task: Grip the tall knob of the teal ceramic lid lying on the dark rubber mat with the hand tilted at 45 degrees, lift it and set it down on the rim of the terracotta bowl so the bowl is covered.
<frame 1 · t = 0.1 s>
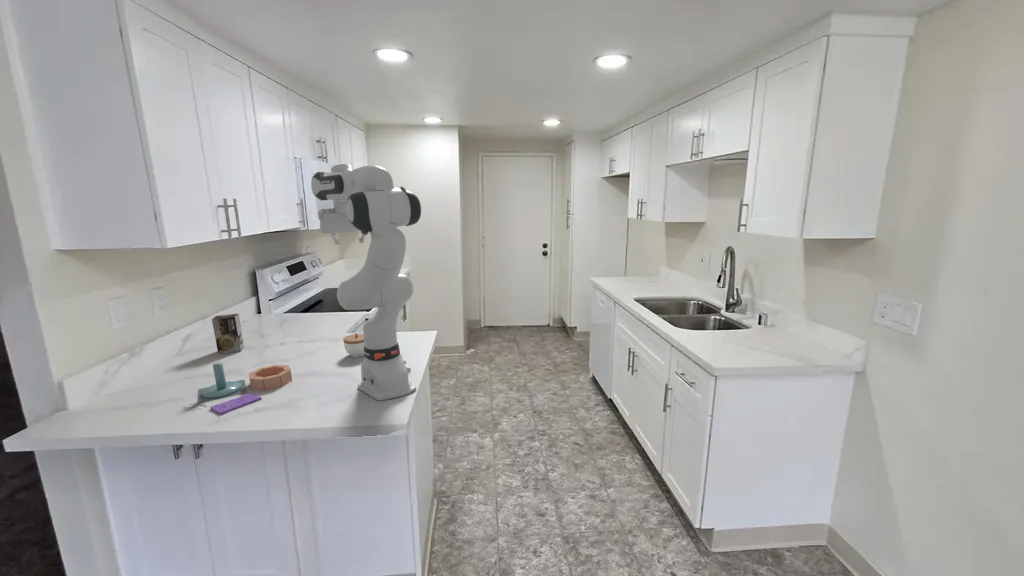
hand: (349, 243, 172), 48 cm above the worktop, tool pointing down, fingers open, 8 cm apart
sponges: (237, 407, 142), on the worktop
soap dispenser: (388, 334, 213), on the worktop
bowl: (271, 383, 158), on the worktop
mat: (222, 392, 152), on the worktop
lid: (222, 390, 152), resting on mat
lidded jar: (358, 355, 186), on the worktop
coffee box: (231, 351, 195), on the worktop
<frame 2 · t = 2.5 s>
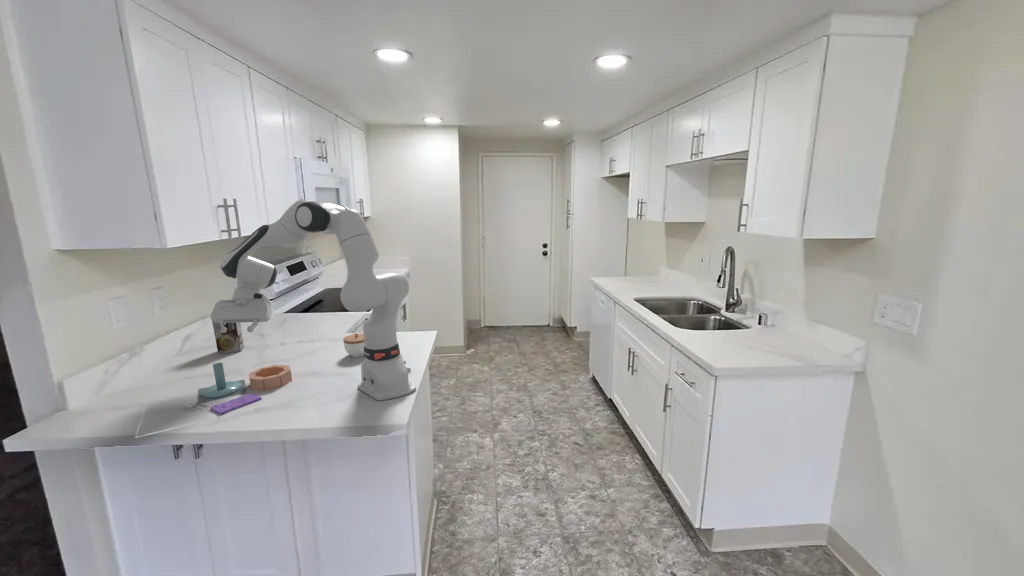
hand: (236, 331, 162), 18 cm above the worktop, tool tilted 45°, fingers open, 8 cm apart
nothing on the worktop moved.
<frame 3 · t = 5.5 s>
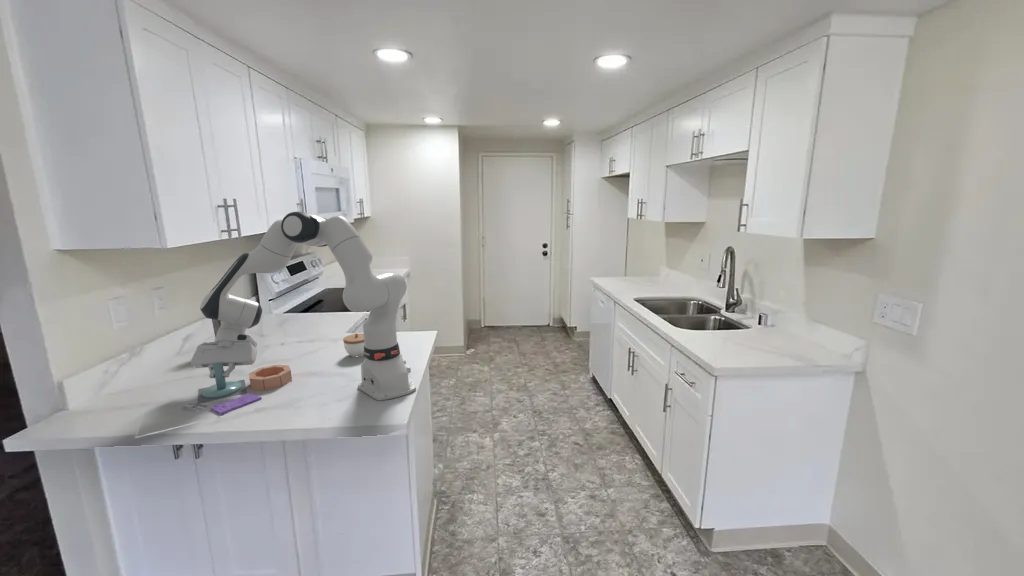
hand: (218, 377, 150), 6 cm above the worktop, tool tilted 45°, fingers closed on lid, 3 cm apart
lid: (222, 390, 152), resting on mat, touching gripper
everything else where it was.
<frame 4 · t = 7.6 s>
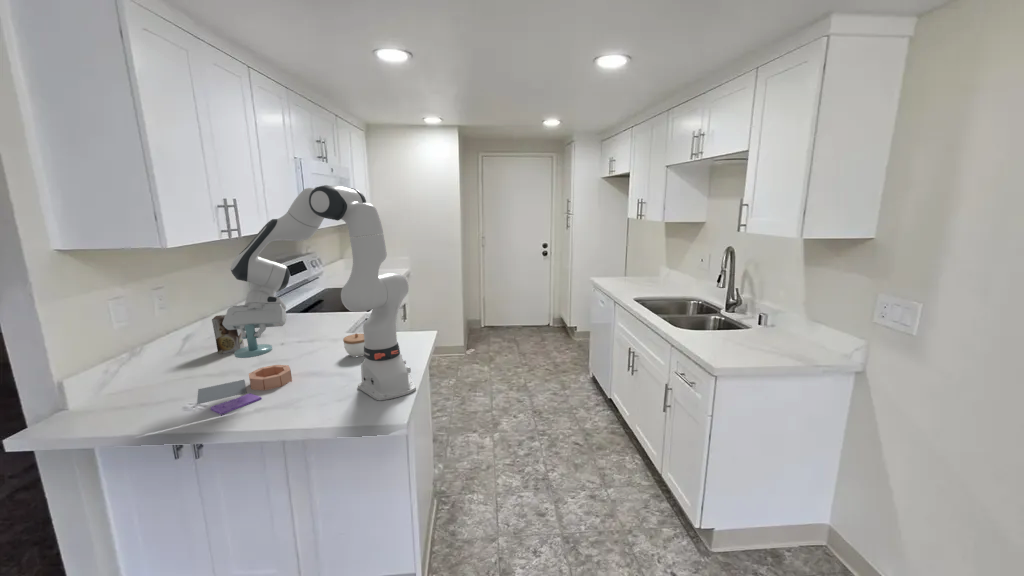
hand: (250, 337, 152), 19 cm above the worktop, tool tilted 45°, fingers closed on lid, 3 cm apart
lid: (253, 352, 153), point 13 cm above the worktop, touching gripper
everything else where it was.
when the fingers open (11 cm above the worktop, at t = 9.8 s): lid stays where it is, resting on bowl.
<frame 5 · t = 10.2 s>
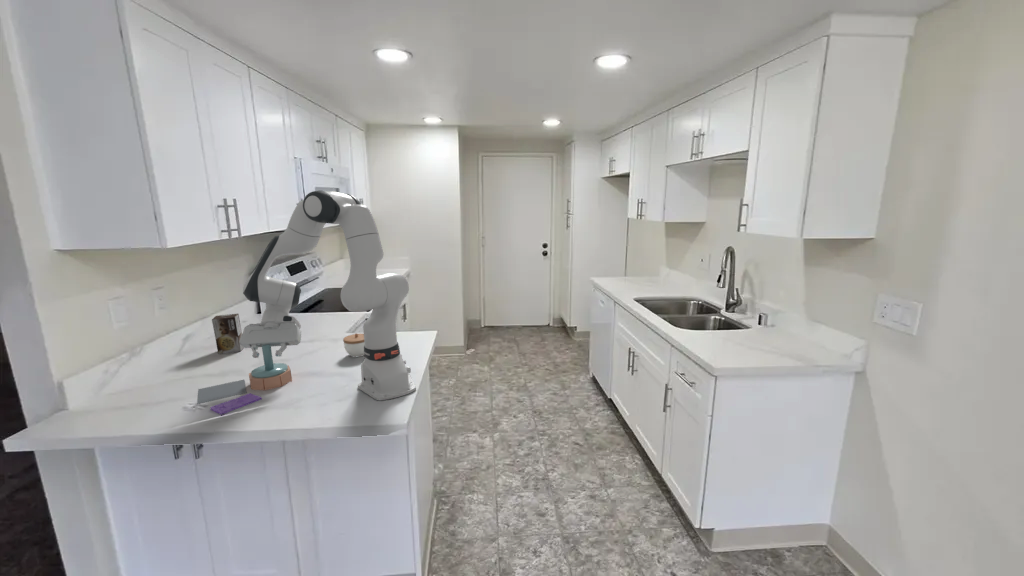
hand: (266, 356, 156), 11 cm above the worktop, tool tilted 45°, fingers open, 6 cm apart
lid: (270, 371, 158), point 4 cm above the worktop, touching bowl
everything else where it was.
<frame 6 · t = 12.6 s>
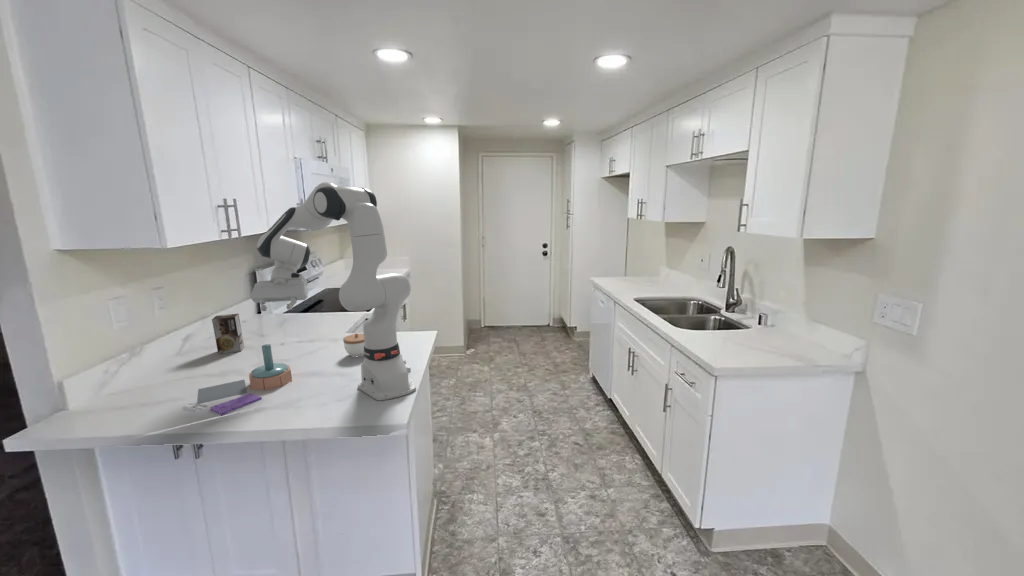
hand: (276, 309, 166), 25 cm above the worktop, tool tilted 45°, fingers open, 8 cm apart
nothing on the worktop moved.
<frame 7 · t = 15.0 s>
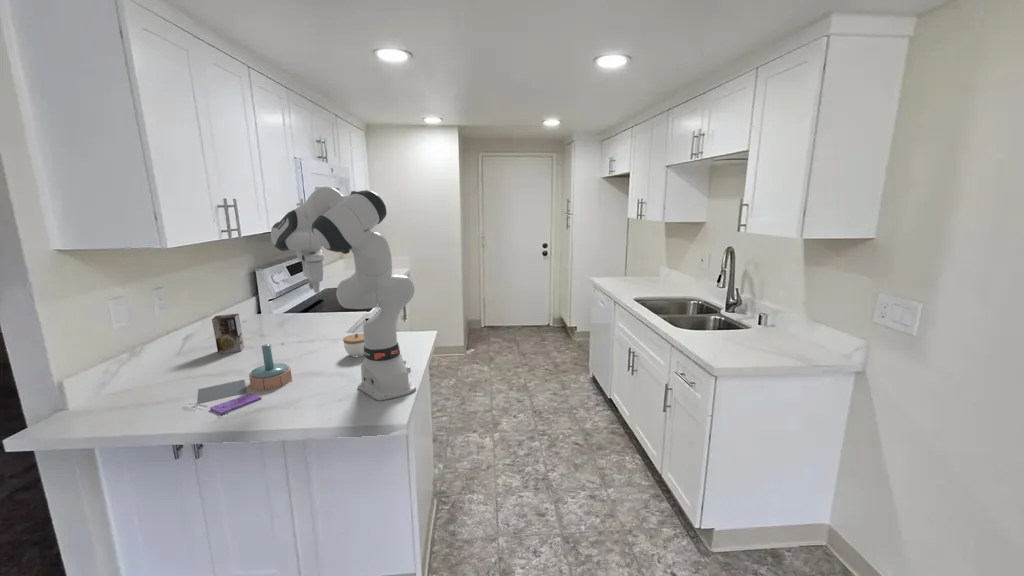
hand: (314, 290, 167), 31 cm above the worktop, tool pointing down, fingers open, 8 cm apart
nothing on the worktop moved.
at the end: lid 0.1 cm from the bowl (horizontally); lid 0.1 cm off-centre on the bowl, point 4.5 cm above the bowl's base; lid tilted 0° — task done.
